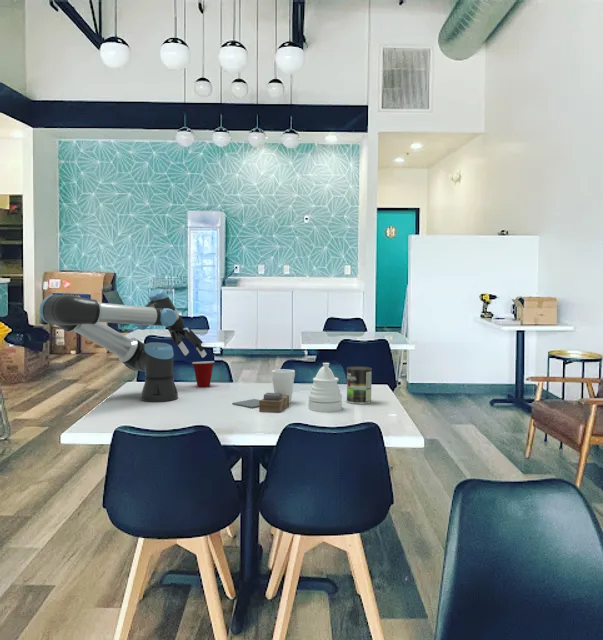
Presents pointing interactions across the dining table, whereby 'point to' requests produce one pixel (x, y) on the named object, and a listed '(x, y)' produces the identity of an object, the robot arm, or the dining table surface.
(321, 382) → the honey pot
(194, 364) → the plastic cup
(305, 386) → the dining table surface
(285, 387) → the foam cup
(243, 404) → the coaster
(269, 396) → the walnut block
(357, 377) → the coffee can
